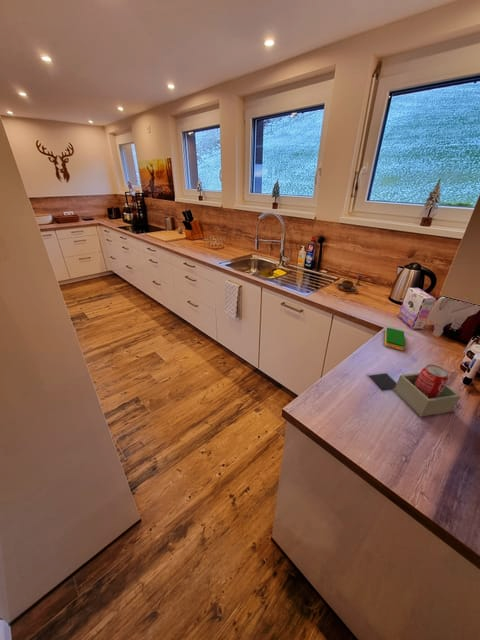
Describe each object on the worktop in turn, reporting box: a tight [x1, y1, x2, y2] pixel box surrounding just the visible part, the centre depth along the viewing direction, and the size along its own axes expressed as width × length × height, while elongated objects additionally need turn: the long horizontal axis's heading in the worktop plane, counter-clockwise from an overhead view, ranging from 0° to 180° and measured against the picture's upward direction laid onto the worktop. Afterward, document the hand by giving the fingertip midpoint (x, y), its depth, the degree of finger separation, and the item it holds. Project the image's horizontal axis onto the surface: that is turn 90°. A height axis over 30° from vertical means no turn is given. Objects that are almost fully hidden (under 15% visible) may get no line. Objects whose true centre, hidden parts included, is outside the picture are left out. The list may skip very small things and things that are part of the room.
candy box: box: [397, 287, 437, 330], centre depth 129 cm, size 14×6×16 cm, turn 179°
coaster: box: [368, 373, 397, 391], centre depth 93 cm, size 7×7×1 cm
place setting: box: [334, 275, 362, 295], centre depth 170 cm, size 18×20×6 cm
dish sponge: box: [384, 327, 406, 351], centre depth 117 cm, size 7×14×2 cm, turn 152°
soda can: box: [414, 364, 449, 399], centre depth 83 cm, size 7×7×12 cm
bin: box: [393, 372, 462, 417], centre depth 85 cm, size 12×12×7 cm
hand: (445, 331), depth 78 cm, fingers open, 8 cm apart
